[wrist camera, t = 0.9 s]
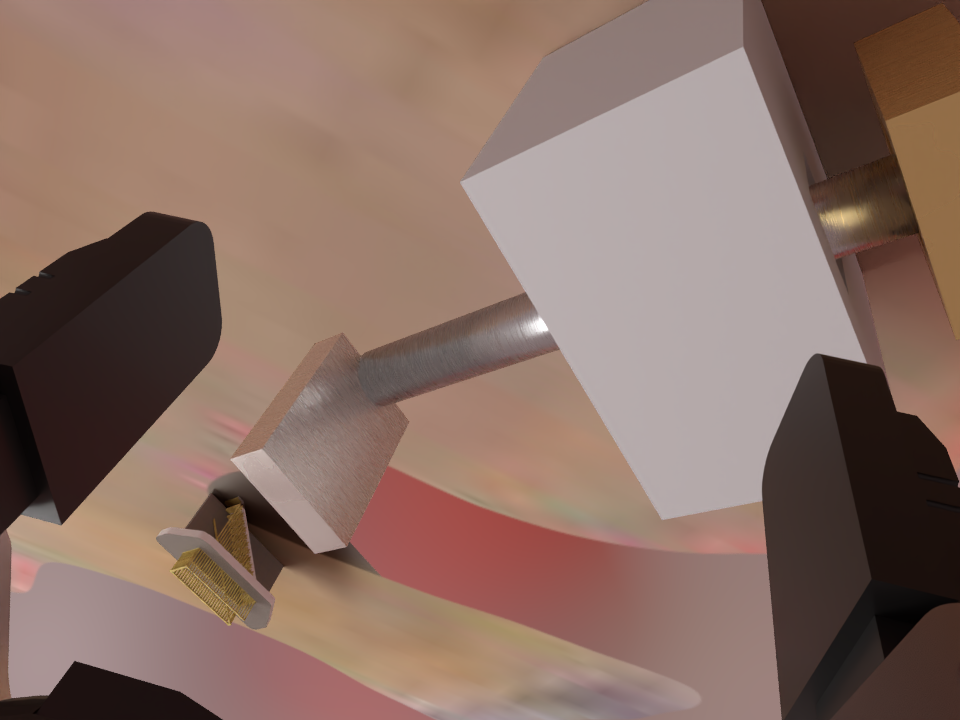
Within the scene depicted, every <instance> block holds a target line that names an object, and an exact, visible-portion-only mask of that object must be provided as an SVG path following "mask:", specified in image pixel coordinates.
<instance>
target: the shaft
mask: <svg viewBox="0 0 960 720" xmlns="http://www.w3.org/2000/svg"><path fill="white" fill-rule="evenodd" d="M809 191H810V195H811V198H812V201H813V203H814V206H815V208H816V211H817V214H818V216H819V219H820V221H821V224H822V227H823V229H824V232H825V234H826V237H827V240H828V242H829V245H830V247H831V250H832V253H833V255H834V258H835V260H836V259H839V258H842V257H845V256H848V255H851V254H854V253H858V252H861V251H864V250H867V249H870V248H873V247H876V246H879V245H882V244H885V243H888V242H891V241H894V240H897V239H901V238H904V237H907V236H910V235H913V234H916V233H919V229H918V226H917V223H916V219H915V216H914V213H913V210H912V207H911V204H910V201H909V198H908V195H907V192H906V189H905V185H904V182H903V179H902V176H901V173H900V170H899V167H898V164H897V161H896V158H895V155H894V154H893V155H890V156H888V157H885V158H882V159H880V160H877V161H874V162H872V163H869V164H866V165H864V166H861V167H858V168H856V169H853V170H850V171H848V172H845V173H842V174H840V175H837V176H834V177H832V178H829V179H826V180H824V181H821V182H818V183H816V184H813V185H810V186H809ZM559 349H560V348H559V347H558V345H557V343H556V342H555V340H554V338H553V337H552V335H551V333H550V332H549V330H548V328H547V327H546V325H545V323H544V322H543V320H542V318H541V317H540V315H539V313H538V312H537V310H536V308H535V307H534V305H533V303H532V302H531V300H530V298H529V297H528V295H527V293H526V292H525V293H522V294H520V295H517V296H514V297H512V298H509V299H506V300H504V301H501V302H498V303H496V304H493V305H490V306H488V307H485V308H482V309H480V310H477V311H474V312H472V313H469V314H466V315H464V316H461V317H458V318H456V319H453V320H450V321H448V322H445V323H442V324H440V325H437V326H434V327H432V328H429V329H426V330H424V331H421V332H418V333H416V334H413V335H410V336H408V337H405V338H402V339H400V340H397V341H394V342H392V343H389V344H386V345H384V346H381V347H378V348H376V349H373V350H370V351H368V352H366V353H364V354H363V355H362V356H360V354H359V353H358V352H357V350H356V349H355V348H354V346H353V345H352V344H351V342H350V341H349V340H348V338H347V337H346V336H345V334H344V333H340V334H338V335H335V336H333V337H330V338H328V339H325V340H323V341H320V342H318V343H315V344H314V345H313V347H312V348H311V349H310V351H309V352H308V353H307V355H306V356H305V357H304V359H303V360H302V362H301V363H300V364H299V366H298V367H297V368H296V370H295V371H294V372H293V374H292V375H291V377H290V378H289V379H288V381H287V382H286V383H285V385H284V386H283V387H282V389H281V390H280V392H279V393H278V394H277V396H276V397H275V398H274V400H273V401H272V403H271V404H270V405H269V407H268V408H267V409H266V411H265V412H264V413H263V415H262V416H261V418H260V419H259V420H258V422H257V423H256V424H255V426H254V427H253V428H252V430H251V431H250V433H249V434H248V435H247V437H246V438H245V439H244V441H243V442H242V444H241V445H240V446H239V448H238V449H237V450H236V452H235V453H234V454H233V456H232V457H231V459H230V460H231V461H232V462H233V463H234V464H235V465H236V466H237V467H238V468H239V470H240V471H241V472H242V473H243V474H244V475H245V476H246V477H247V479H248V480H249V481H250V482H251V483H252V484H253V485H254V486H255V487H256V489H257V490H258V491H259V492H260V493H261V494H262V495H263V496H264V498H265V499H266V500H267V501H268V502H269V503H270V504H271V505H272V506H273V508H274V509H275V510H276V511H277V512H278V513H279V514H280V515H281V517H282V518H283V519H284V520H285V521H286V522H287V523H288V524H289V525H290V527H291V528H292V529H293V530H294V531H295V532H296V533H297V534H298V535H299V537H300V538H301V539H302V540H303V541H304V542H305V543H306V544H307V546H308V547H309V548H310V549H311V550H312V551H313V552H314V553H315V554H317V553H321V552H326V551H330V550H335V549H340V548H344V547H347V546H348V544H349V542H350V540H351V538H352V536H353V534H354V532H355V529H356V528H357V526H358V524H359V522H360V520H361V518H362V516H363V514H364V511H365V510H366V508H367V506H368V504H369V502H370V500H371V498H372V496H373V494H374V492H375V490H376V488H377V486H378V483H379V482H380V480H381V477H382V476H383V474H384V472H385V470H386V468H387V466H388V464H389V462H390V460H391V458H392V456H393V454H394V452H395V450H396V448H397V446H398V444H399V442H400V440H401V438H402V436H403V434H404V432H405V430H406V428H407V426H408V424H409V421H408V419H407V418H406V417H405V415H404V414H403V413H402V411H401V410H400V409H399V407H398V406H397V404H396V402H400V401H403V400H406V399H409V398H412V397H415V396H418V395H421V394H424V393H427V392H430V391H433V390H436V389H439V388H443V387H446V386H449V385H452V384H455V383H458V382H461V381H464V380H467V379H470V378H473V377H476V376H479V375H483V374H486V373H489V372H492V371H495V370H498V369H501V368H504V367H507V366H510V365H513V364H516V363H519V362H522V361H526V360H529V359H532V358H535V357H538V356H541V355H544V354H547V353H550V352H553V351H556V350H559Z"/></svg>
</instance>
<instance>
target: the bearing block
mask: <svg viewBox="0 0 960 720" xmlns="http://www.w3.org/2000/svg"><path fill="white" fill-rule="evenodd" d="M826 179H827V177H826V174H825V172H824V169H823V166H822V164H821V161H820V158H819V156H818V153H817V150H816V147H815V145H814V142H813V139H812V137H811V134H810V131H809V129H808V126H807V123H806V120H805V118H804V115H803V112H802V110H801V107H800V104H799V102H798V99H797V96H796V93H795V91H794V88H793V85H792V83H791V80H790V77H789V75H788V72H787V69H786V66H785V64H784V61H783V58H782V56H781V53H780V50H779V48H778V45H777V42H776V39H775V37H774V34H773V31H772V29H771V26H770V23H769V21H768V18H767V15H766V12H765V10H764V7H763V4H762V2H761V0H649V1H647V2H645V3H643V4H641V5H640V6H638V7H636V8H634V9H632V10H630V11H628V12H627V13H625V14H623V15H621V16H619V17H617V18H615V19H614V20H612V21H610V22H608V23H606V24H604V25H603V26H601V27H599V28H597V29H595V30H593V31H591V32H590V33H588V34H586V35H584V36H582V37H580V38H578V39H577V40H575V41H573V42H571V43H569V44H567V45H565V46H564V47H562V48H560V49H558V50H556V51H554V52H552V53H551V54H549V55H547V56H545V57H543V58H542V60H541V61H540V63H539V64H538V66H537V67H536V69H535V70H534V72H533V73H532V75H531V76H530V78H529V79H528V81H527V82H526V84H525V85H524V87H523V88H522V90H521V91H520V93H519V94H518V96H517V97H516V99H515V100H514V102H513V103H512V105H511V106H510V108H509V109H508V111H507V112H506V114H505V115H504V117H503V118H502V120H501V121H500V123H499V124H498V126H497V127H496V129H495V130H494V132H493V133H492V135H491V136H490V138H489V139H488V141H487V142H486V144H485V145H484V147H483V148H482V150H481V151H480V153H479V154H478V156H477V157H476V159H475V160H474V162H473V163H472V165H471V166H470V168H469V169H468V171H467V172H466V174H465V175H464V177H463V178H462V180H461V181H460V183H461V185H462V187H463V188H464V190H465V192H466V193H467V195H468V197H469V198H470V200H471V202H472V203H473V205H474V207H475V208H476V210H477V212H478V213H479V215H480V217H481V218H482V220H483V222H484V223H485V225H486V227H487V228H488V230H489V232H490V233H491V235H492V237H493V238H494V240H495V242H496V243H497V245H498V247H499V248H500V250H501V252H502V253H503V255H504V257H505V258H506V260H507V262H508V263H509V265H510V267H511V268H512V270H513V272H514V273H515V275H516V277H517V278H518V280H519V282H520V283H521V285H522V287H523V288H524V290H525V292H526V293H527V295H528V297H529V298H530V300H531V302H532V303H533V305H534V307H535V308H536V310H537V312H538V313H539V315H540V317H541V318H542V320H543V322H544V323H545V325H546V327H547V328H548V330H549V332H550V333H551V335H552V337H553V338H554V340H555V342H556V343H557V345H558V347H559V348H560V350H561V352H562V353H563V355H564V357H565V358H566V360H567V362H568V363H569V365H570V367H571V368H572V370H573V372H574V374H575V375H576V377H577V379H578V380H579V382H580V384H581V385H582V387H583V389H584V390H585V392H586V394H587V395H588V397H589V399H590V400H591V402H592V404H593V405H594V407H595V409H596V410H597V412H598V414H599V415H600V417H601V419H602V420H603V422H604V424H605V425H606V427H607V429H608V430H609V432H610V434H611V435H612V437H613V439H614V440H615V442H616V444H617V445H618V447H619V449H620V450H621V452H622V454H623V455H624V457H625V459H626V460H627V462H628V464H629V465H630V467H631V469H632V470H633V472H634V474H635V475H636V477H637V479H638V480H639V482H640V484H641V485H642V487H643V489H644V490H645V492H646V494H647V495H648V497H649V499H650V500H651V502H652V504H653V505H654V507H655V509H656V510H657V512H658V514H659V515H660V517H661V519H662V520H664V519H670V518H675V517H680V516H685V515H691V514H696V513H701V512H706V511H712V510H717V509H722V508H728V507H733V506H738V505H743V504H749V503H754V502H759V501H762V479H763V472H764V466H765V462H766V458H767V455H768V451H769V448H770V446H771V443H772V441H773V439H774V436H775V434H776V432H777V430H778V427H779V425H780V423H781V420H782V418H783V416H784V413H785V411H786V409H787V407H788V404H789V402H790V400H791V397H792V395H793V393H794V390H795V388H796V386H797V384H798V381H799V379H800V377H801V374H802V372H803V370H804V368H805V366H806V364H807V362H808V361H809V359H810V358H811V357H812V356H813V355H814V354H816V353H819V354H823V355H828V356H833V357H838V358H842V359H847V360H852V361H857V362H861V363H866V364H871V365H876V366H879V367H881V368H882V370H883V372H884V374H885V377H886V380H887V375H886V371H885V367H884V363H883V359H882V354H881V350H880V346H879V342H878V338H877V333H876V329H875V325H874V321H873V317H872V312H871V308H870V304H869V300H868V295H867V291H866V287H865V283H864V279H863V274H862V272H861V269H860V266H859V264H858V261H857V258H856V255H855V253H854V254H851V255H848V256H845V257H842V258H839V259H836V260H835V258H834V255H833V253H832V250H831V247H830V245H829V242H828V240H827V237H826V234H825V232H824V229H823V227H822V224H821V221H820V219H819V216H818V214H817V211H816V208H815V206H814V203H813V201H812V198H811V195H810V191H809V186H810V185H813V184H816V183H818V182H821V181H824V180H826ZM887 383H888V380H887ZM888 386H889V384H888ZM889 389H890V388H889Z"/></svg>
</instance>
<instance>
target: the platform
mask: <svg viewBox="0 0 960 720" xmlns="http://www.w3.org/2000/svg"><path fill="white" fill-rule="evenodd" d="M207 491H208V495H209V496H208V497H207V499H206V500H205V502H204V503H203V504H202V506H201V507H200V508H199V510H198V511H197V513H196V514H195V515H194V517H193V518H192V520H191V521H190V522H189V524H188V525H187V526H186V528H185V529H183V528H175V527H169V528H166V529H163V530H161V532H160V533H159V534H158V536H157V537H156V540H157V541H158V543H159V544H161V545H162V546H163V547H164V548H165V549H166V550H167V551H168V552H169V553H170V554H171V555H172V556H173V557H174V558H175V559H177V560H178V561H177V562H176V564H175V565H174V566H173V568H172V569H171V570H170V572H171V573H172V574H173V575H174V576H175V577H176V578H177V579H179V580H180V581H181V582H182V583H183V584H184V585H185V586H186V587H187V588H188V589H189V590H190V591H192V592H193V593H194V594H195V595H196V596H197V597H198V598H199V599H200V600H201V601H202V602H203V603H205V604H206V605H207V606H208V607H209V608H210V609H211V610H212V611H213V612H214V613H215V614H216V615H217V616H219V617H220V618H221V619H222V620H223V621H224V622H225V623H226V624H227V625H231V623H232V621H233V619H234V618H235V616H237V617H238V618H239V619H240V620H242V621H243V622H244V623H245V624H246V625H247V626H248V627H249V628H251V629H261V628H265V627H267V625H268V623H269V621H270V619H271V615H272V611H273V606H274V602H275V598H274V596H273V595H272V594H271V593H270V592H269V591H270V589H271V588H272V586H273V584H274V582H275V581H276V579H277V577H278V575H279V573H280V572H281V570H282V568H283V565H282V564H281V563H280V562H279V561H278V560H277V559H276V558H275V557H274V556H273V555H272V554H271V553H270V552H269V551H268V550H267V549H266V548H265V547H264V546H263V545H262V544H261V543H260V542H259V541H258V540H257V539H256V538H255V537H254V536H253V535H252V534H251V533H250V532H249V531H248V526H247V523H249V524H252V525H254V526H256V527H258V528H261V529H263V530H265V531H267V532H270V533H272V534H274V535H277V536H279V537H281V538H283V539H286V540H288V541H290V542H293V543H295V544H297V545H300V546H302V547H305V548H307V549H310V548H309V547H308V546H307V544H306V543H305V542H304V541H303V540H302V539H301V538H300V537H299V535H298V534H297V533H296V532H295V531H294V530H293V529H292V528H291V527H290V525H289V524H288V523H287V522H286V521H285V520H284V519H283V518H282V517H281V515H280V514H279V513H278V512H277V511H276V510H275V509H274V508H273V506H272V505H271V504H270V503H269V502H268V501H267V500H266V499H265V498H264V496H263V495H262V494H261V493H260V492H259V491H258V490H257V489H256V487H255V486H254V485H253V484H252V483H251V482H250V481H249V480H248V479H247V477H246V476H245V475H244V474H243V473H242V472H241V471H239V472H232V473H228V474H226V475H223V476H220V477H219V478H217V479H215V480H214V481H212V482H211V483H210V484H209V486H208V488H207ZM310 550H311V549H310ZM320 554H322V555H325V556H327V557H330V558H333V559H336V560H338V561H341V562H343V563H346V564H349V565H352V566H354V567H357V568H360V569H362V570H365V571H368V572H370V573H373V574H376V575H378V576H381V575H380V574H379V573H378V572H377V571H376V570H375V569H374V568H373V567H372V566H371V564H370V563H369V562H367V560H366V559H365V558H364V557H363V556H362V555H361V554H360V553H359V552H358V550H357V549H356V548H355V547H354V546H353V545H352V544H351V543H350V542H349V544H348V546H347V547H344V548H340V549H335V550H330V551H326V552H321V553H320ZM185 568H186V570H185ZM181 569H183V570H182V571H181ZM177 570H179V571H178V572H177V574H175V573H176V571H177ZM184 570H185V572H184V573H183V575H182V576H181V578H179V577H180V575H181V574H182V572H183V571H184ZM187 570H188V572H187V574H186V575H185V577H184V578H183V580H181V579H182V577H183V576H184V574H185V573H186V571H187ZM173 571H175V572H173ZM180 571H181V573H180V574H179V576H177V575H178V573H179V572H180ZM189 572H190V574H189V576H188V577H187V579H186V580H185V582H183V581H184V579H185V578H186V576H187V575H188V573H189ZM191 574H193V575H192V576H191V578H190V579H189V580H188V578H189V577H190V575H191ZM193 576H194V578H193V579H192V577H193ZM381 577H382V576H381ZM195 578H196V580H195V581H194V579H195ZM191 579H192V581H191V582H190V580H191ZM197 579H198V582H197V583H196V585H195V586H194V588H193V589H191V588H192V587H193V585H194V584H195V582H196V581H197ZM187 580H188V582H187V583H186V581H187ZM193 581H194V583H193V584H192V582H193ZM199 581H200V583H199ZM189 582H190V584H189V585H188V583H189ZM185 583H186V584H185ZM198 583H199V585H198V586H197V584H198ZM201 583H202V585H201ZM191 584H192V586H191V587H190V585H191ZM200 585H201V587H200V588H199V586H200ZM203 585H204V587H203V589H202V590H201V588H202V586H203ZM196 586H197V588H196V590H195V591H193V590H194V589H195V587H196ZM205 587H206V589H205V590H204V588H205ZM198 588H199V590H198V591H197V589H198ZM207 589H208V591H207V592H206V590H207ZM200 590H201V592H200V593H199V591H200ZM203 590H204V592H203V593H202V591H203ZM209 590H210V592H209ZM196 591H197V593H195V592H196ZM205 592H206V594H205V595H204V593H205ZM208 592H209V594H208V595H207V593H208ZM211 592H212V594H211ZM198 593H199V595H197V594H198ZM201 593H202V595H201V597H199V596H200V594H201ZM210 594H211V596H210V597H209V595H210ZM213 594H214V596H213V597H212V595H213ZM203 595H204V597H203V598H202V596H203ZM206 595H207V597H206V599H205V600H204V598H205V596H206ZM215 596H216V597H215ZM208 597H209V599H208V600H207V598H208ZM211 597H212V599H211V601H210V602H209V600H210V598H211ZM214 597H215V599H214ZM217 598H218V599H217ZM213 599H214V601H213V602H212V600H213ZM216 599H217V601H216V602H215V600H216ZM206 600H207V602H205V601H206ZM218 600H220V601H219V602H218ZM208 602H209V604H207V603H208ZM211 602H212V604H211V605H210V603H211ZM214 602H215V604H214ZM217 602H218V604H217ZM220 602H222V603H221V604H220ZM213 604H214V606H213V607H212V605H213ZM216 604H217V606H216V607H215V605H216ZM219 604H220V606H219V607H218V605H219ZM222 604H223V606H222V607H221V605H222ZM209 605H210V606H209ZM224 605H226V606H225V607H224ZM211 607H212V608H211ZM214 607H215V609H213V608H214ZM217 607H218V609H217ZM220 607H221V609H220ZM223 607H224V609H223ZM216 609H217V611H215V610H216ZM219 609H220V611H219V612H218V610H219ZM222 609H223V611H222V612H221V610H222ZM225 609H226V611H225V612H224V610H225ZM230 610H231V612H230ZM217 612H218V613H217ZM220 612H221V614H220ZM223 612H224V614H223ZM226 612H227V614H226ZM229 612H230V614H229ZM232 612H233V614H232ZM219 614H220V615H219ZM222 614H223V616H222V617H221V615H222ZM225 614H226V616H225V617H224V615H225ZM231 614H232V616H231V617H230V615H231ZM227 615H228V617H227ZM233 615H234V616H233ZM223 617H224V619H223ZM226 617H227V619H226ZM231 618H232V619H231ZM225 619H226V621H225ZM227 620H228V622H227ZM230 620H231V621H230Z"/></svg>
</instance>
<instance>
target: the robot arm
mask: <svg viewBox="0 0 960 720" xmlns="http://www.w3.org/2000/svg"><path fill="white" fill-rule="evenodd" d="M221 329H222V316H221V307H220V298H219V288H218V279H217V270H216V260H215V251H214V242H213V237H212V233H211V231H210V229H209V227H208V226H207V225H206V224H205V223H203V222H199V221H194V220H190V219H185V218H180V217H175V216H171V215H166V214H161V213H156V212H146V213H144V214H142V215H140V216H139V217H138V218H136V219H135V220H133V221H132V222H130V223H129V224H128V225H126V226H125V227H123V228H122V229H121V230H119V231H118V232H116V233H115V234H114V235H112V236H111V237H109V238H108V239H107V238H106V239H104V240H101V241H98V242H95V243H93V244H90V245H87V246H84V247H81V248H79V249H76V250H73V251H70V252H68V253H66V254H65V255H63V256H62V257H60V258H59V259H58V260H56V261H55V262H53V263H52V264H50V265H49V266H47V267H46V268H44V269H43V270H42V271H40V272H39V276H38V277H36V276H33V277H31V278H30V279H28V280H27V281H25V282H24V283H23V284H21V285H20V286H18V287H17V288H16V291H15V293H10V292H9V293H8V294H6V295H5V296H4V297H2V298H1V299H0V720H222V719H221V718H219V717H218V716H216V715H215V714H213V713H212V712H210V711H209V710H207V709H206V708H204V707H203V706H201V705H200V704H198V703H196V702H195V701H193V700H192V699H190V698H189V697H187V696H186V695H184V694H183V693H181V692H178V691H175V690H172V689H169V688H165V687H162V686H158V685H155V684H152V683H148V682H145V681H141V680H137V679H134V678H131V677H128V676H124V675H121V674H117V673H114V672H111V671H107V670H104V669H100V668H97V667H93V666H90V665H87V664H83V663H80V662H76V661H74V663H73V664H72V665H71V667H70V668H69V669H68V671H67V672H66V673H65V675H64V676H63V677H62V679H61V680H60V681H59V683H58V684H57V685H56V687H55V688H54V689H53V691H52V692H51V694H50V695H49V696H31V697H21V698H11V694H10V688H9V678H8V652H9V618H10V584H11V541H10V538H9V536H8V533H7V530H6V529H7V528H8V527H9V526H10V525H11V524H12V523H13V522H14V521H15V520H16V519H17V518H18V517H19V516H20V515H25V516H28V517H32V518H36V519H40V520H43V521H47V522H51V523H54V524H58V525H62V524H63V523H64V522H65V521H66V520H67V519H68V517H69V516H70V515H71V514H72V513H73V512H74V511H75V510H76V509H77V508H78V506H79V505H80V504H81V503H82V502H83V501H84V500H85V499H86V498H87V496H88V495H89V494H90V493H91V492H92V491H93V490H94V489H95V488H96V487H97V485H98V484H99V483H100V482H101V481H102V480H103V479H104V478H105V477H106V475H107V474H108V473H109V472H110V471H111V470H112V469H113V468H114V467H115V466H116V464H117V463H118V462H119V461H120V460H121V459H122V458H123V457H124V456H125V455H126V453H127V452H128V451H129V450H130V449H131V448H132V447H133V446H134V445H135V443H136V442H137V441H138V440H139V439H140V438H141V437H142V436H143V435H144V434H145V432H146V431H147V430H148V429H149V428H150V427H151V426H152V425H153V424H154V422H155V421H156V420H157V419H158V418H159V417H160V416H161V415H162V414H163V413H164V411H165V410H166V409H167V408H168V407H169V406H170V405H171V404H172V403H173V402H174V400H175V399H176V398H177V397H178V396H179V395H180V394H181V393H182V392H183V390H184V389H185V388H186V387H187V386H188V385H189V384H190V383H191V382H192V381H193V379H194V378H195V377H196V376H197V375H198V374H199V373H200V372H201V371H202V369H203V368H204V367H205V366H206V365H207V364H208V363H209V361H210V360H211V359H212V357H213V355H214V353H215V351H216V349H217V346H218V343H219V340H220V335H221ZM958 483H959V480H958V477H957V475H956V472H955V470H954V467H953V465H952V462H951V459H950V457H949V454H948V452H947V449H946V448H945V446H944V445H943V444H942V443H941V442H940V441H939V440H938V439H937V438H936V436H935V435H934V434H933V433H932V432H931V431H930V430H929V429H928V428H927V427H926V425H925V424H924V423H923V422H922V421H921V420H920V419H919V418H918V417H917V416H915V415H910V414H906V413H901V412H897V411H896V407H895V404H894V401H893V398H892V395H891V392H890V389H889V386H888V383H887V380H886V377H885V374H884V372H883V370H882V368H881V367H879V366H876V365H871V364H866V363H861V362H857V361H852V360H847V359H842V358H838V357H833V356H828V355H823V354H819V353H816V354H814V355H813V356H812V357H811V358H810V359H809V361H808V362H807V364H806V366H805V368H804V370H803V372H802V374H801V377H800V379H799V381H798V384H797V386H796V388H795V390H794V393H793V395H792V397H791V400H790V402H789V404H788V407H787V409H786V411H785V413H784V416H783V418H782V420H781V423H780V425H779V427H778V430H777V432H776V434H775V436H774V439H773V441H772V443H771V446H770V448H769V451H768V455H767V458H766V462H765V466H764V472H763V479H762V501H763V513H764V524H765V535H766V546H767V558H768V569H769V580H770V591H771V602H772V614H773V625H774V636H775V647H776V659H777V670H778V681H779V692H780V704H781V714H782V720H960V488H959V487H958Z"/></svg>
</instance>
